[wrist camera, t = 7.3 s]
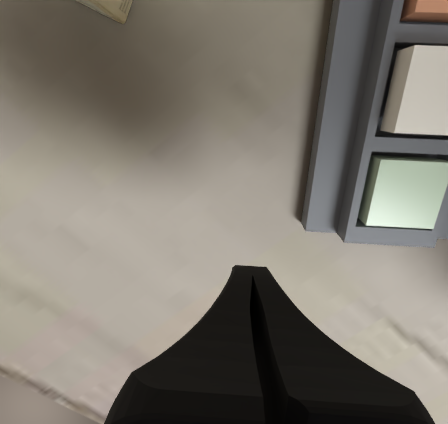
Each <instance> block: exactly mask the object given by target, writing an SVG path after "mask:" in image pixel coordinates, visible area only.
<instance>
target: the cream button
mask: <svg viewBox="0 0 448 424" xmlns="http://www.w3.org/2000/svg"><path fill="white" fill-rule="evenodd" d="M380 131H386V132H391V133H404V134H427V135H448V46H427V45H414V46H411V47H408V48H405V49H402V50H399V51H397V56H396V60H395V65H394V69H393V74H392V78H391V83H390V87H389V92H388V96H387V101H386V106H385V110H384V115H383V119H382V124H381V128H380Z"/></svg>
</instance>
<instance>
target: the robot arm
mask: <svg viewBox="0 0 448 424" xmlns="http://www.w3.org/2000/svg"><path fill="white" fill-rule="evenodd" d="M104 424H435V423H434V421H433V419H432V418H431V416H430V414H429V413H428V411H427V409H426V408H425V407H424V405H423V404H422V402H421V401H420V399H419V398H418V397H417V395H416V394H415V392H414V391H412V390H411V389H409V388H407V387H405V386H403V385H402V384H400V383H398V382H396V381H394V380H393V379H391V378H389V377H387V376H385V375H384V374H382V373H380V372H378V371H377V370H375V369H373V368H372V367H370V366H369V365H367V364H366V363H364V362H362V361H361V360H359V359H358V358H356V357H355V356H353V355H352V354H350V353H349V352H348V351H346V350H345V349H343V348H342V347H341V346H339V345H338V344H337V343H336V342H334V341H333V340H332V339H330V338H329V337H328V336H327V335H325V334H324V333H323V332H322V331H321V330H319V329H318V328H317V327H316V326H315V325H314V324H313V323H312V322H311V321H310V320H309V319H307V318H306V317H305V316H304V315H303V313H302V312H301V311H300V310H299V309H298V308H297V307H296V306H295V305H294V303H293V302H292V301H291V300H290V299H289V297H288V296H287V295H286V294H285V292H284V291H283V290H282V288H281V287H280V286H279V284H278V283H277V282H276V280H275V279H274V277H273V276H272V274H271V273H270V271H269V270H268V268H267V267H257V266H240V265H235V266H234V267H233V268H232V272H231V275H230V277H229V279H228V281H227V283H226V285H225V287H224V288H223V290H222V292H221V293H220V295H219V297H218V298H217V299H216V301H215V302H214V304H213V305H212V306H211V308H210V309H209V310H208V311H207V313H206V314H205V315H204V316H203V317H202V318H201V320H200V321H199V322H198V323H197V324H196V325H195V326H194V327H193V328H192V329H191V330H190V331H189V332H188V333H187V334H185V335H184V336H183V337H182V338H181V339H180V340H179V341H177V342H176V343H175V344H173V345H172V346H171V347H170V348H168V349H167V350H166V351H164V352H163V353H162V354H160V355H159V356H158V357H156V358H154V359H153V360H151V361H150V362H148V363H146V364H145V365H143V366H141V367H140V368H138V369H136V370H135V371H133V372H132V373H131V374H130V376H129V377H128V379H127V380H126V382H125V384H124V385H123V387H122V389H121V390H120V392H119V394H118V396H117V397H116V399H115V401H114V403H113V405H112V407H111V409H110V411H109V413H108V416H107V418H106V421H105V423H104Z"/></svg>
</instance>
